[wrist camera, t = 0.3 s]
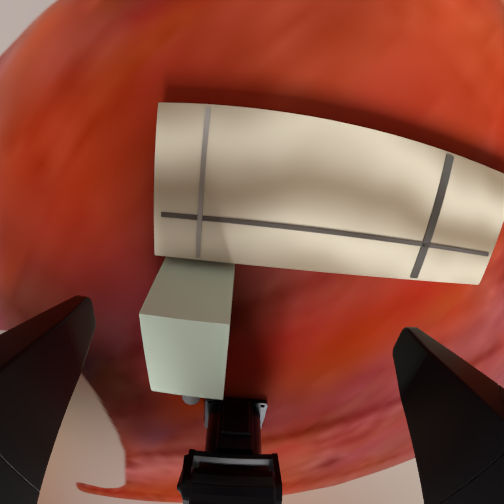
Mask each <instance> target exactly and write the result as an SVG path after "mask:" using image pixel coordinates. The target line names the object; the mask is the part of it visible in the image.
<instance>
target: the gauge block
mask: <svg viewBox="0 0 504 504" xmlns="http://www.w3.org/2000/svg"><path fill="white" fill-rule="evenodd" d="M234 270H235V263H225V262H215V261H205V260H196V259H186V258H177V257H167V256H166V258H165V260H164V262H163V264H162V266H161V268H160V270H159V272H158V274H157V276H156V278H155V280H154V282H153V284H152V287H151V289H150V291H149V293H148V295H147V297H146V299H145V302H144V304H143V306H142V308H141V310H140V312H139V317H140V325H141V332H142V339H143V346H144V352H145V358H146V364H147V370H148V375H149V381H150V386H151V390H152V391H158V392H164V393H171V394H177V395H182V397H183V401H184V402H185V403H187V404H191V405H192V404H196V403H198V402H199V400H200V397H201V398H209V399H219V400H223V394H224V383H225V372H226V361H227V351H228V340H229V330H230V319H231V306H232V294H233V282H234Z"/></svg>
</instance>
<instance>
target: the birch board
mask: <svg viewBox="0 0 504 504" xmlns="http://www.w3.org/2000/svg"><path fill="white" fill-rule="evenodd" d="M503 221H504V173H501V172H499V171H497V170H494V169H492V168H490V167H487V166H485V165H482V164H480V163H477V162H475V161H472V160H470V159H467V158H464V157H462V156H459V155H456V154H453V153H450V152H448V151H445V150H442V149H439V148H436V147H433V146H430V145H427V144H423V143H420V142H417V141H414V140H410V139H407V138H403V137H400V136H396V135H393V134H389V133H385V132H381V131H377V130H373V129H369V128H365V127H361V126H357V125H352V124H348V123H343V122H338V121H333V120H328V119H323V118H318V117H312V116H306V115H300V114H294V113H287V112H280V111H273V110H265V109H257V108H248V107H238V106H227V105H214V104H197V103H166V102H158V112H157V127H156V144H155V169H154V249H155V255H158V256H167V257H177V258H186V259H196V260H205V261H215V262H225V263H235V264H245V265H255V266H265V267H276V268H286V269H297V270H308V271H318V272H329V273H341V274H352V275H363V276H375V277H387V278H399V279H411V280H423V281H436V282H449V283H462V284H476V285H479V283H480V281H481V279H482V276H483V274H484V272H485V269H486V267H487V264H488V262H489V260H490V257H491V255H492V252H493V249H494V247H495V244H496V241H497V239H498V236H499V233H500V230H501V227H502V224H503Z"/></svg>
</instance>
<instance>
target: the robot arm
mask: <svg viewBox="0 0 504 504" xmlns="http://www.w3.org/2000/svg"><path fill="white" fill-rule="evenodd" d="M95 325H96V321H95V316H94V310H93V305H92V301H91V299H90V298H89V297H85V296H80V295H77V296H74V297H72V298H70V299H68V300H66V301H64V302H62V303H60V304H58V305H56V306H54V307H52V308H50V309H48V310H47V311H45V312H43V313H41V314H39V315H37V316H35V317H33V318H31V319H29V320H27V321H25V322H23V323H21V324H19V325H17V326H16V327H14V328H12V329H10V330H8V331H6V332H4V333H2V334H0V504H37V501H38V497H39V491H40V489H41V485H42V482H43V478H44V475H45V471H46V468H47V465H48V461H49V458H50V455H51V452H52V449H53V446H54V443H55V440H56V437H57V434H58V431H59V428H60V426H61V422H62V420H63V417H64V415H65V412H66V409H67V406H68V404H69V401H70V399H71V396H72V394H73V391H74V389H75V386H76V384H77V381H78V379H79V376H80V374H81V371H82V368H83V365H84V362H85V358H86V355H87V352H88V349H89V345H90V342H91V339H92V336H93V333H94V330H95ZM393 359H394V364H395V369H396V375H397V380H398V386H399V391H400V397H401V401H402V405H403V408H404V412H405V416H406V420H407V424H408V428H409V432H410V436H411V440H412V444H413V449H414V453H415V458H416V462H417V467H418V472H419V477H420V482H421V487H422V493H423V499H424V504H504V388H503V387H501V386H500V385H498V384H497V383H496V382H494V381H493V380H491V379H490V378H489V377H487V376H486V375H484V374H483V373H482V372H480V371H479V370H477V369H476V368H475V367H473V366H472V365H470V364H469V363H468V362H466V361H465V360H463V359H462V358H460V357H459V356H458V355H456V354H455V353H453V352H452V351H450V350H449V349H447V348H446V347H445V346H443V345H442V344H440V343H439V342H437V341H436V340H434V339H433V338H431V337H430V336H429V335H427V334H426V333H424V332H423V331H421V330H420V329H418V328H416V327H405V328H404V329H403V330H402V331H401V333H400V335H399V338H398V340H397V342H396V344H395V346H394V348H393ZM266 410H267V402H266V401H263V400H245V399H232V398H223V400H219V399H209V398H206V399H205V428H207V436H206V446H205V451H196V450H194V449H190V450H189V454H188V455H185V456H184V463H183V469H182V472H181V475H180V478H179V481H178V484H177V490H178V491H179V492H180V493H181V496H182V498H183V504H281V503H282V481H281V474H280V468H279V461H278V455H277V453H272V454H261V427H262V423H263V420H264V416H265V413H266Z"/></svg>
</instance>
